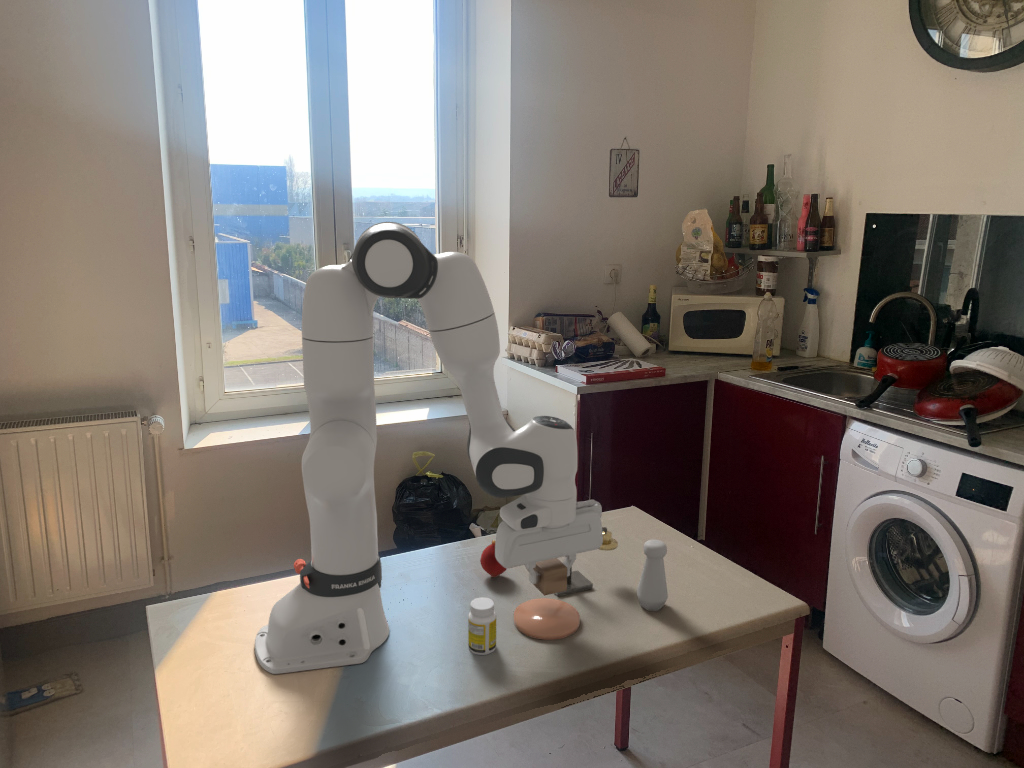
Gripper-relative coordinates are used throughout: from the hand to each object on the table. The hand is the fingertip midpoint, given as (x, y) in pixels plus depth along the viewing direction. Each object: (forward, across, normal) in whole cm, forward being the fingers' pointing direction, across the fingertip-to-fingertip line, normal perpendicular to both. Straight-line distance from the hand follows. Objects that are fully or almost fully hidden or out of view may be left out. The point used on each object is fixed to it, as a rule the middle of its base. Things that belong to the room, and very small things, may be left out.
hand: (549, 579), depth 132 cm
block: (+2, 0, 0) cm, 2 cm away
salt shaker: (+9, -21, +3) cm, 23 cm away
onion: (+8, +2, -19) cm, 21 cm away
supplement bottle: (+8, +14, +3) cm, 17 cm away
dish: (+8, 0, 0) cm, 8 cm away
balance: (+8, -10, -10) cm, 16 cm away
